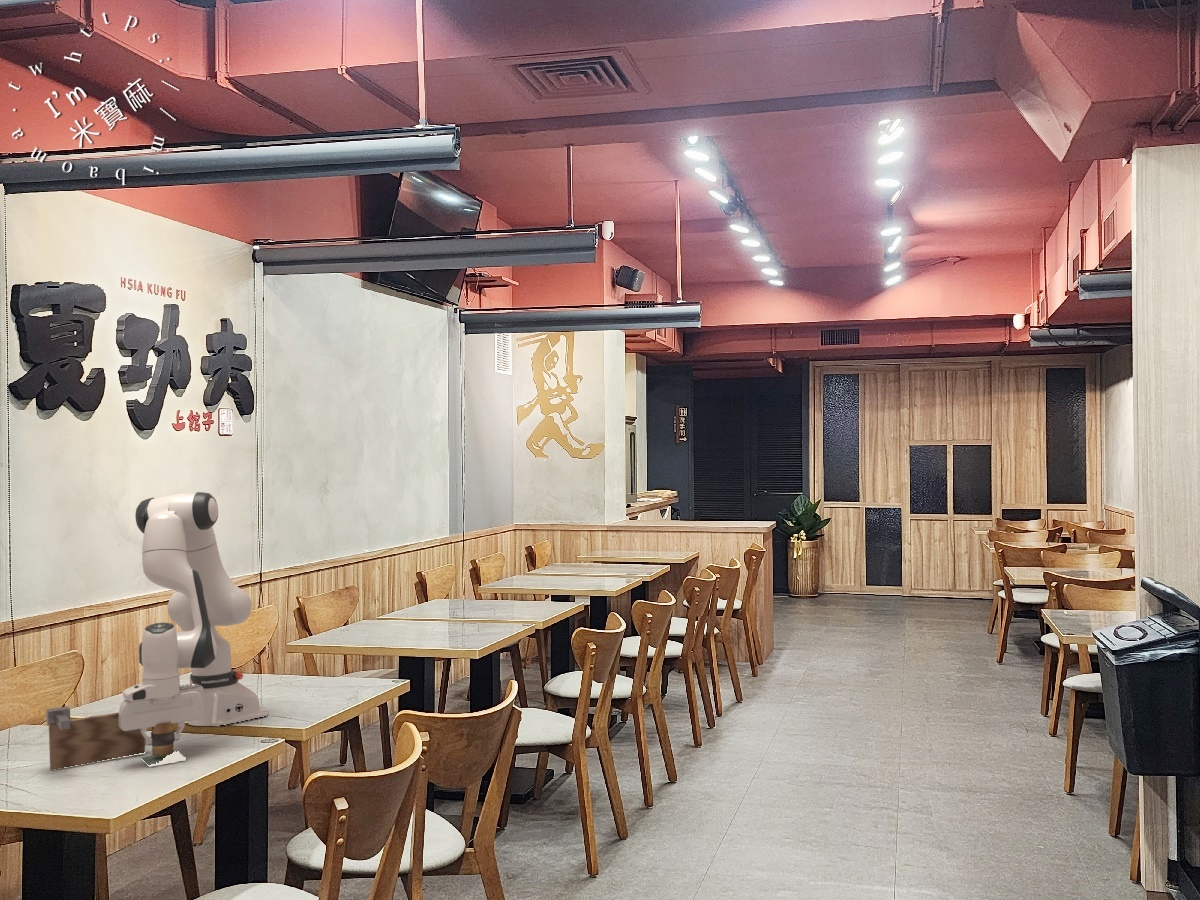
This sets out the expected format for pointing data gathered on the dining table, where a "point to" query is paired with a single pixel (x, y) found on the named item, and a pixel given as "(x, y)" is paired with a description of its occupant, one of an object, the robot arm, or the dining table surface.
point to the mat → (153, 759)
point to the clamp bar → (59, 717)
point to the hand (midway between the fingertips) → (162, 742)
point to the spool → (162, 739)
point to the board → (92, 741)
